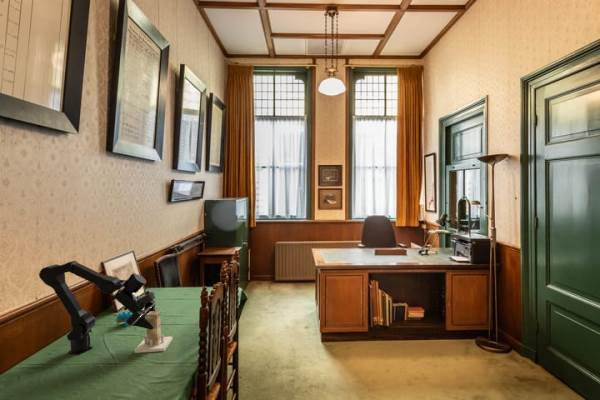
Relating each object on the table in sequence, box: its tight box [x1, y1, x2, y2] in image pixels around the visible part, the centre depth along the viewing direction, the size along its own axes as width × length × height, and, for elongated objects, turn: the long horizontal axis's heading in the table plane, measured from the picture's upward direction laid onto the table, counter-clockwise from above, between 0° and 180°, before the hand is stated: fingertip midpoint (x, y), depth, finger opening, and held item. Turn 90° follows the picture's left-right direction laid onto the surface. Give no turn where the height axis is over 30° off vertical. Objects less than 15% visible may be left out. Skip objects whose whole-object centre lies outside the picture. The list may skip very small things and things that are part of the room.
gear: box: [114, 311, 132, 328], centre depth 173 cm, size 11×6×10 cm
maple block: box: [145, 310, 162, 345], centre depth 147 cm, size 4×4×13 cm
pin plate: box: [134, 334, 174, 354], centre depth 147 cm, size 12×12×4 cm
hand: (156, 324), depth 147 cm, fingers open, 9 cm apart
